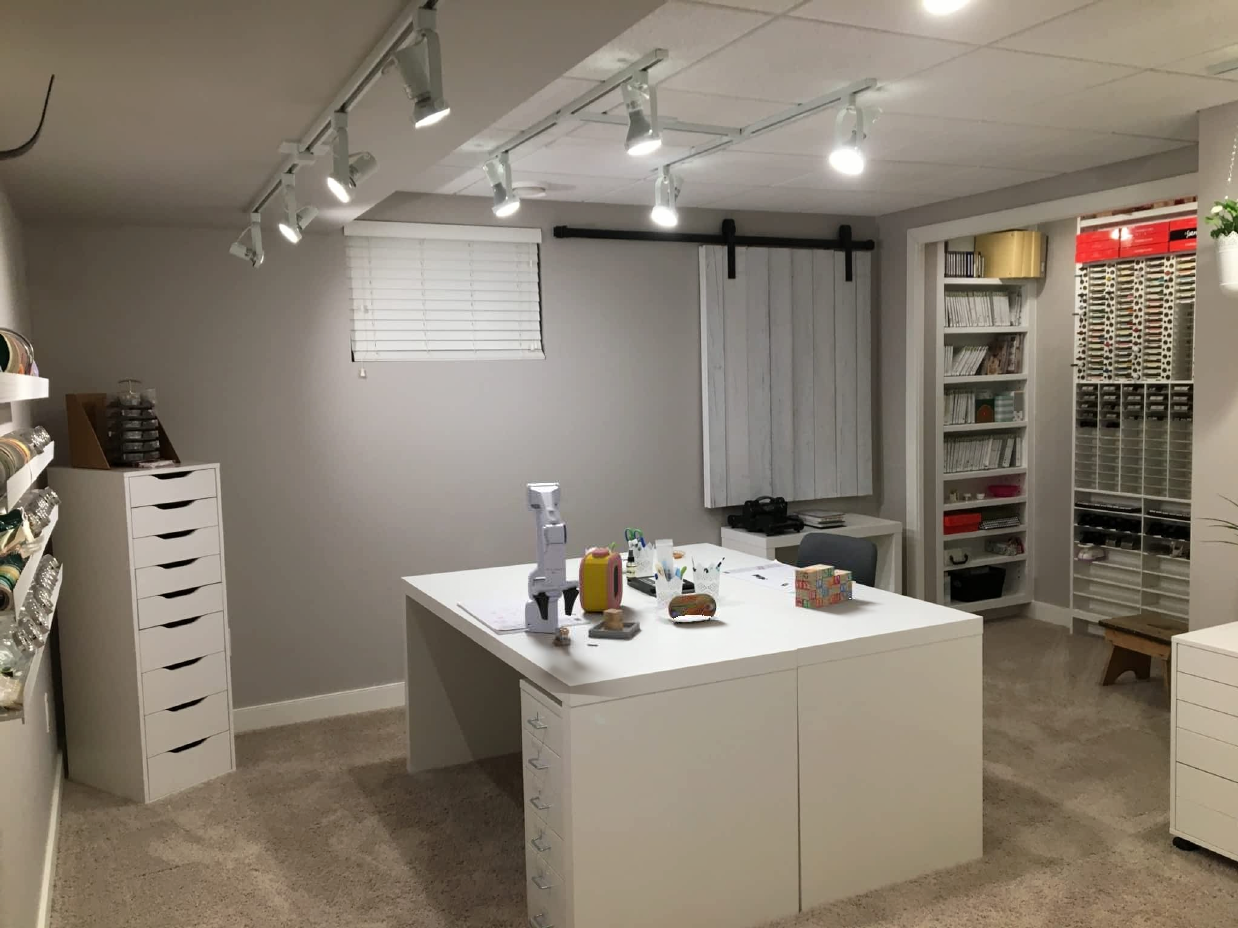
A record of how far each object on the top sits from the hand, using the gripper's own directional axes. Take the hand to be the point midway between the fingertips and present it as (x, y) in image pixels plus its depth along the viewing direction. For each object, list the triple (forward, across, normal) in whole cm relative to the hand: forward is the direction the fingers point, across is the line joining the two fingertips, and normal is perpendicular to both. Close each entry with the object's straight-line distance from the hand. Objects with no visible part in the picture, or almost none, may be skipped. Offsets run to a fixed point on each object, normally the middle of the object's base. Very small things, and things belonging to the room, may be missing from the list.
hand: (556, 617), depth 275 cm
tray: (+9, +24, +7) cm, 27 cm away
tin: (+10, +51, +3) cm, 52 cm away
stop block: (+9, +24, +7) cm, 26 cm away
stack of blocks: (+10, +100, -6) cm, 100 cm away
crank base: (+10, +8, +3) cm, 13 cm away
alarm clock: (+10, +39, +34) cm, 52 cm away
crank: (+8, +4, +4) cm, 10 cm away
